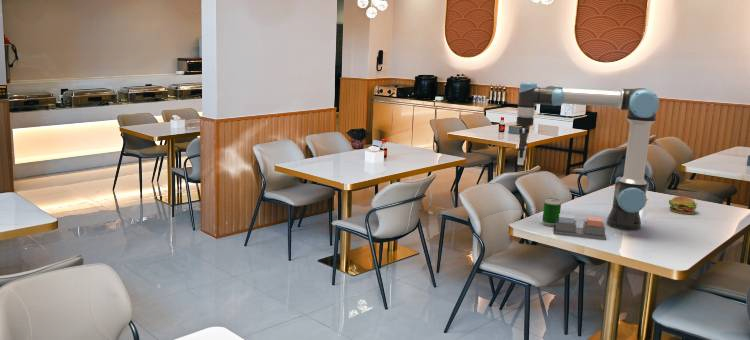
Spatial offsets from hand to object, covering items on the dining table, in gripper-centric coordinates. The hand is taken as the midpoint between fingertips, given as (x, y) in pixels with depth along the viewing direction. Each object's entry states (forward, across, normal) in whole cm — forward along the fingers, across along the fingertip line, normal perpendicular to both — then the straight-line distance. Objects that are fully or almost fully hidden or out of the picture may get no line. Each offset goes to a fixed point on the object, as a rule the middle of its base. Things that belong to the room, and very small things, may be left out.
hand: (521, 162), depth 307 cm
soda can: (+28, 0, +16) cm, 32 cm away
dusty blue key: (+23, +10, +22) cm, 34 cm away
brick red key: (+23, +10, +34) cm, 43 cm away
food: (+28, -58, +82) cm, 104 cm away
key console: (+28, +10, +28) cm, 41 cm away
